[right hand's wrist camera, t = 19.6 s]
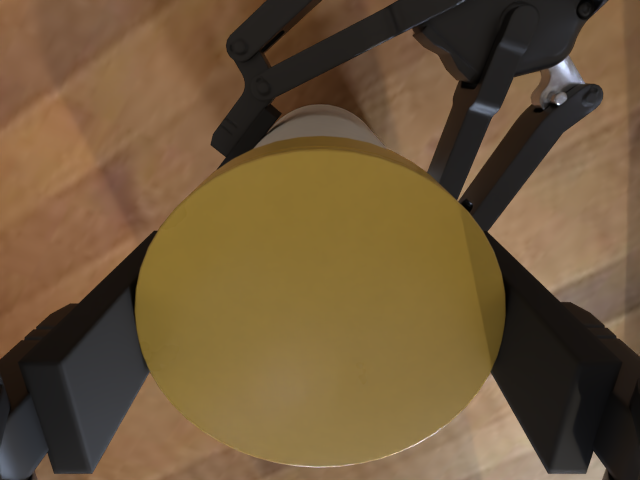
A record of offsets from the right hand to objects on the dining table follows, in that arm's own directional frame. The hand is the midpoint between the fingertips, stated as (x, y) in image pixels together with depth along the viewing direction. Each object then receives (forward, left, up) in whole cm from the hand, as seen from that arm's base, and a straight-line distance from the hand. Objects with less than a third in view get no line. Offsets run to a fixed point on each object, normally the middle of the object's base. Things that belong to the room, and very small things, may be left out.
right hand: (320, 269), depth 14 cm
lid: (0, 0, +3) cm, 3 cm away
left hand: (-3, +4, -9) cm, 10 cm away
